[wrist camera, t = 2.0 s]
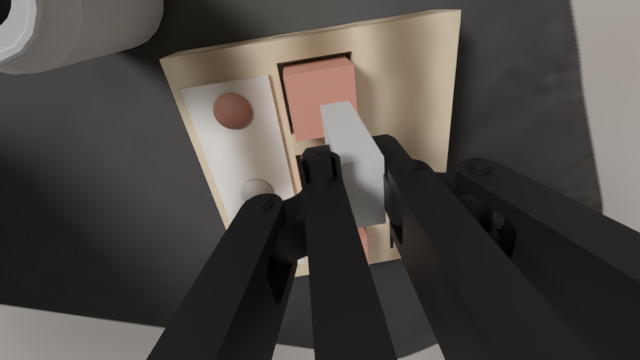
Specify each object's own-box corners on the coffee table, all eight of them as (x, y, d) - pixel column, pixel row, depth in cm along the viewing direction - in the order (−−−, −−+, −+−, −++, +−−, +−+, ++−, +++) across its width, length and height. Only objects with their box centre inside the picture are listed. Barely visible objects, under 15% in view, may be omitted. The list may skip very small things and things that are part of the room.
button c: (294, 123, 23) (295, 141, 20) (283, 65, 21) (282, 76, 18) (349, 114, 24) (359, 131, 20) (343, 55, 21) (353, 64, 18)
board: (252, 256, 34) (247, 289, 30) (178, 51, 23) (156, 60, 19) (423, 227, 34) (440, 255, 30) (434, 9, 23) (465, 10, 19)
